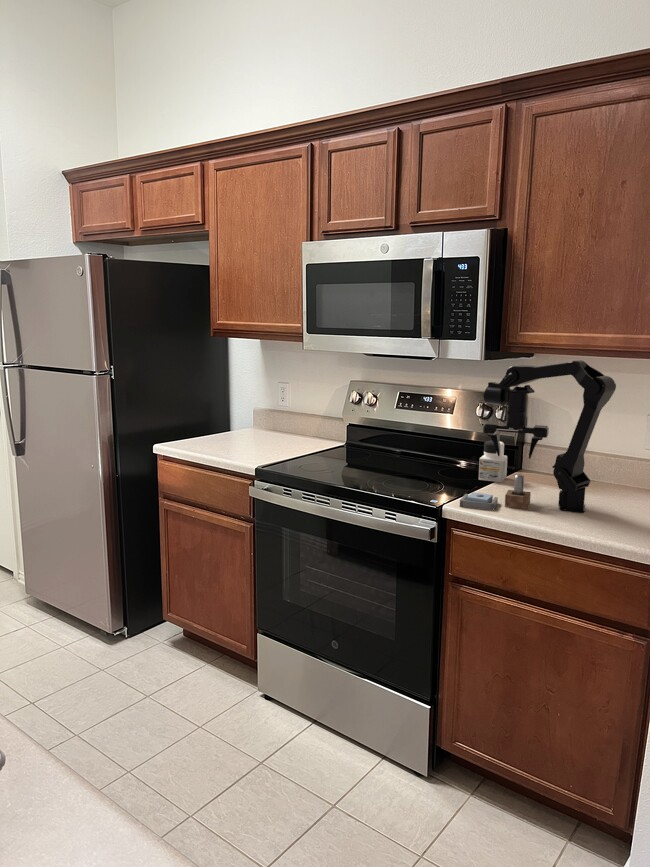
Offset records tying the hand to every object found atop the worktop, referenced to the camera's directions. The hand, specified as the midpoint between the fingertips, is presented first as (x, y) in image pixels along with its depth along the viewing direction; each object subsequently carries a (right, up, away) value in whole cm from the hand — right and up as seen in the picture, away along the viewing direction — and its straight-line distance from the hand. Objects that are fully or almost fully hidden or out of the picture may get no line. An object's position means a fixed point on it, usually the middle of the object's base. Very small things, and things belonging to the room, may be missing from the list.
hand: (514, 457), depth 202 cm
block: (-13, -14, -8) cm, 20 cm away
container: (-1, -8, +22) cm, 24 cm away
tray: (-13, -14, -8) cm, 20 cm away
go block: (-1, -14, -8) cm, 16 cm away
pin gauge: (-1, -14, -8) cm, 16 cm away
